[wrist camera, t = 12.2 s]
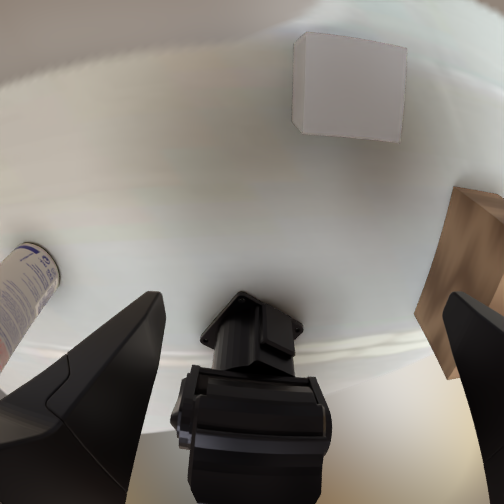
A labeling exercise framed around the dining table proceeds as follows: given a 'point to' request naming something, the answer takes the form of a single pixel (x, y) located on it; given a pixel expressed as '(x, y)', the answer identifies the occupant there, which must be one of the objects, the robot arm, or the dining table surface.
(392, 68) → the letter cube
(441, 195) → the dining table surface
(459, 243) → the brown wooden block
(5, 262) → the energy drink
